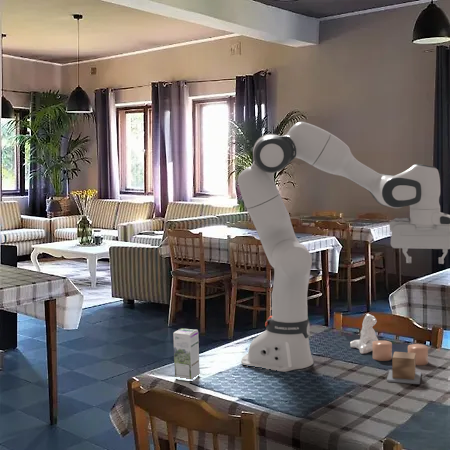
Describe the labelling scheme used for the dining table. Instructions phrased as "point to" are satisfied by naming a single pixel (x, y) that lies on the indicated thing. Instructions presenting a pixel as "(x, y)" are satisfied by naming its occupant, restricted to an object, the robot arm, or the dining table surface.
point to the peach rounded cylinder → (419, 353)
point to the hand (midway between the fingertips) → (424, 263)
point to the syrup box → (186, 353)
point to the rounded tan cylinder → (382, 350)
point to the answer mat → (415, 381)
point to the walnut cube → (403, 365)
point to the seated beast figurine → (366, 335)
